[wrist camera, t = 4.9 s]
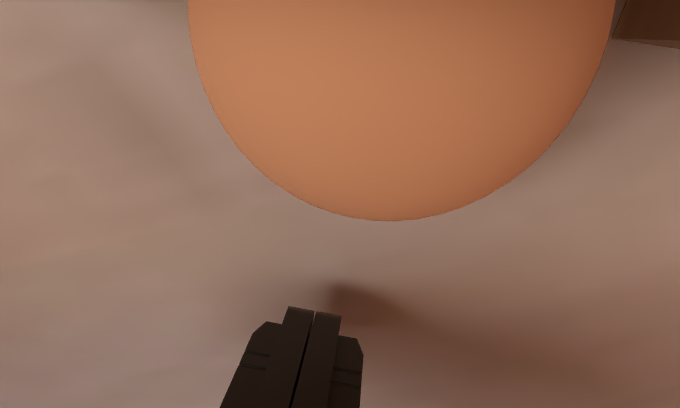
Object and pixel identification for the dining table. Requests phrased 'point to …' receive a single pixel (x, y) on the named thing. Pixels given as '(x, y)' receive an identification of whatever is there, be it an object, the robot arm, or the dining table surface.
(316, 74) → the ball
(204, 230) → the dining table surface
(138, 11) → the dining table surface
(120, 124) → the dining table surface
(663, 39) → the bridge
